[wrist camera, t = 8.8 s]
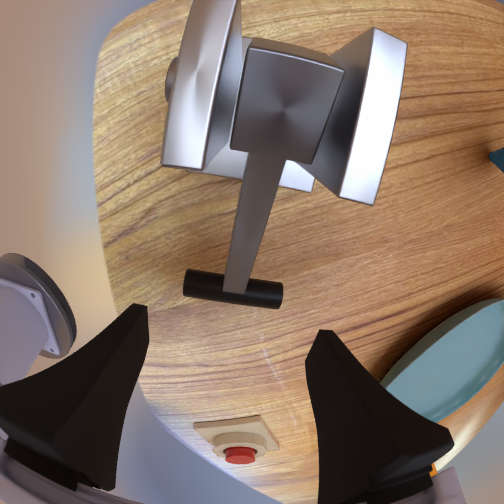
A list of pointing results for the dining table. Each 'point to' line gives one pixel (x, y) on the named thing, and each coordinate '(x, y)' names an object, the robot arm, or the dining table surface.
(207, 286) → the lever
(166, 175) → the dining table surface
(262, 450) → the button block
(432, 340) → the teal plate
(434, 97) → the dining table surface
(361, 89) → the bracket
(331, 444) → the robot arm
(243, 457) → the button
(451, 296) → the dining table surface
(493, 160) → the ornament
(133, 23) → the dining table surface
